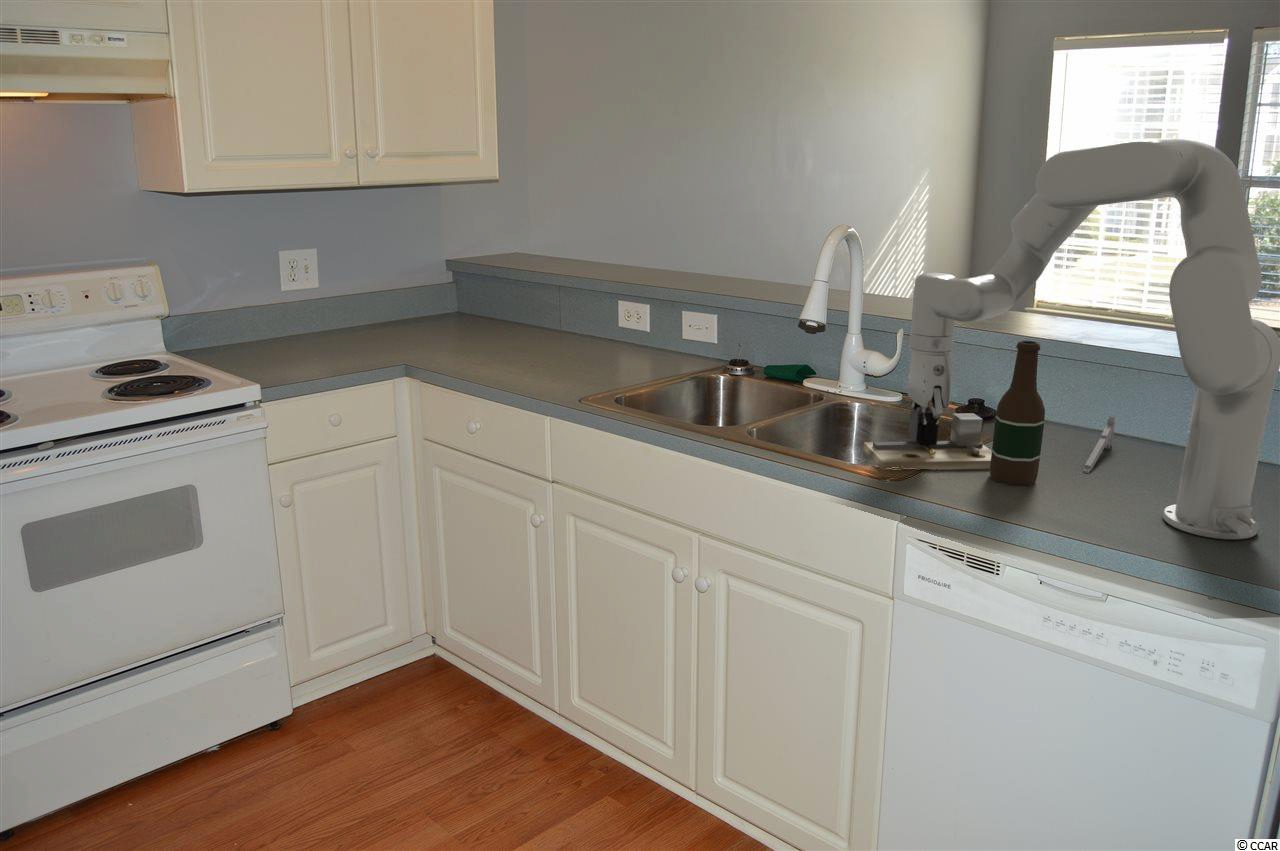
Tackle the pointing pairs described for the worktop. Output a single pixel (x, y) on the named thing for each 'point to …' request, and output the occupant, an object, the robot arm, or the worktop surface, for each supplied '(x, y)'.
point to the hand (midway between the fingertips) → (922, 439)
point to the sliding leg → (914, 428)
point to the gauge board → (937, 449)
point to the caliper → (1101, 444)
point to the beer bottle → (1019, 423)
